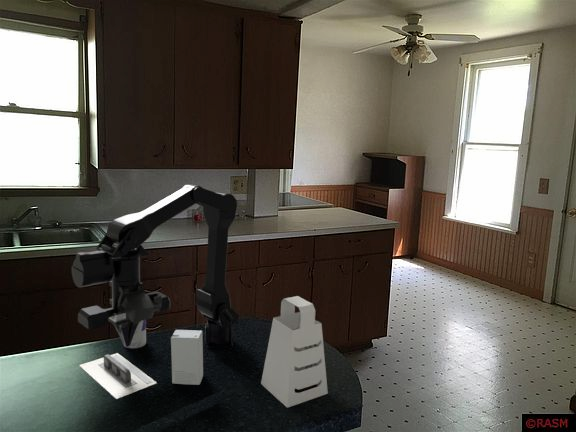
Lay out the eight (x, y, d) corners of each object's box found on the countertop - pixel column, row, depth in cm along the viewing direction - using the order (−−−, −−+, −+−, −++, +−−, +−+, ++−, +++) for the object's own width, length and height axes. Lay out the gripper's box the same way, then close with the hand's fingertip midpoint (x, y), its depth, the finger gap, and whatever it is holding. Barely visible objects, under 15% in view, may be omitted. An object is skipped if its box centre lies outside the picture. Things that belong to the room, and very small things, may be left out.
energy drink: (148, 344, 119) (148, 299, 117) (142, 354, 114) (142, 307, 111) (127, 343, 119) (126, 299, 117) (120, 353, 113) (119, 307, 111)
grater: (299, 371, 108) (303, 290, 105) (327, 393, 100) (333, 305, 96) (260, 383, 102) (263, 297, 99) (287, 407, 94) (291, 314, 90)
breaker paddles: (109, 363, 105) (108, 353, 105) (130, 381, 98) (130, 370, 98) (103, 365, 104) (103, 355, 104) (125, 383, 97) (125, 372, 97)
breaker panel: (117, 358, 111) (117, 352, 110) (157, 389, 99) (157, 382, 98) (79, 371, 104) (79, 364, 104) (116, 405, 92) (116, 398, 92)
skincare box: (203, 380, 103) (204, 329, 101) (199, 391, 98) (200, 338, 96) (175, 379, 103) (175, 328, 101) (170, 390, 98) (170, 336, 96)
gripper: (99, 297, 87) (101, 374, 90) (184, 278, 100) (183, 346, 103) (75, 282, 95) (78, 353, 97) (157, 267, 108) (157, 330, 111)
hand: (126, 346), depth 102 cm, fingers closed
